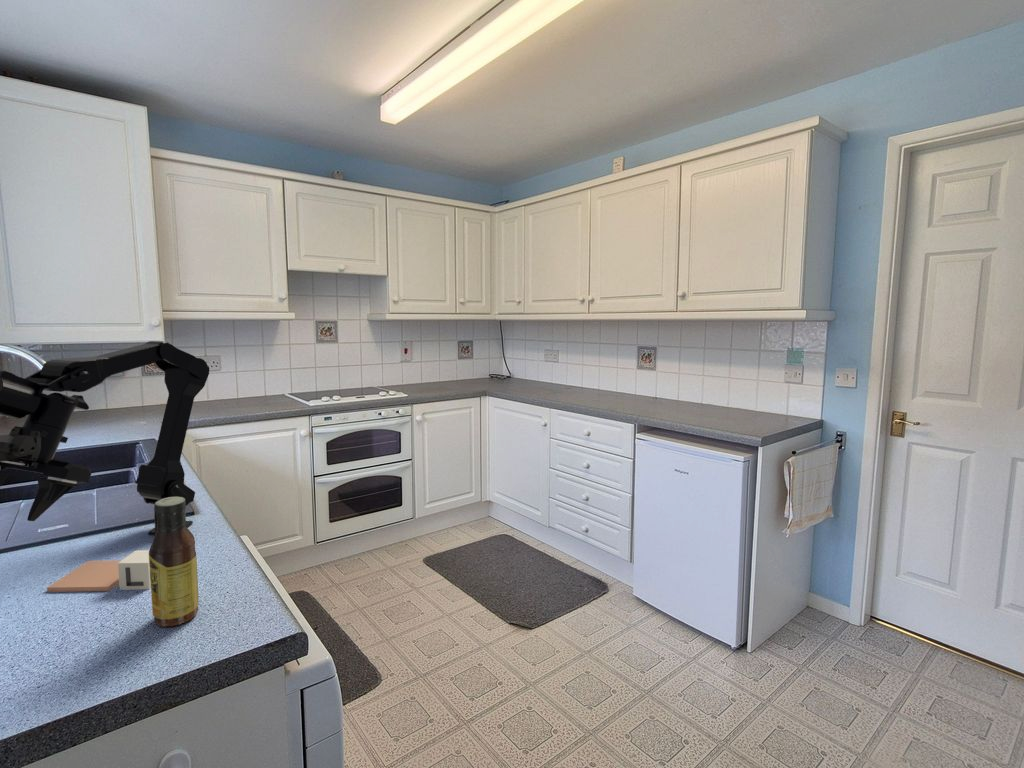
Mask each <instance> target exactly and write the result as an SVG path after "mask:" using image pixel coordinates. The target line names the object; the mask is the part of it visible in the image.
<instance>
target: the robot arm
mask: <svg viewBox="0 0 1024 768" xmlns="http://www.w3.org/2000/svg"><path fill="white" fill-rule="evenodd" d="M151 364H154V366H155V368H157V369H159V370H160V371H162V372H164V380H163V381H164V385H165V387H166V390H167V392H168V397H167V400H166V404H165V410H164V413H163V418H162V422H161V425H160V430H159V435H158V439H157V443H156V447H155V451H154V455H153V458H152V459H151V460H150V461H149V462H148V463H147V464H140V466H139V467H138V476H137V478H136V480H135V482H134V484H136V491H137V493H138V494H139V495H140V497H142V498H143V501H144V502H145V504H151V505H154V506H153V509H154V510H153V511H154V527H152V528H151V529H150V530H149V531H148V532H147V534H148V535H155V533H156V530H157V528H156V527H157V516H156V513H155V502H157V501H159V500H161V499H164V498H168V497H183V498H185V501H186V506H189V504H191V503H193V502H194V500H195V495H196V491H195V490H193V489H191V487H189V486H187V485H186V484H185V474H186V473H185V470H184V467H183V465H182V462H181V457H182V453H183V449H184V445H185V440H186V437H187V436H186V435H187V431H188V426H189V422H190V418H191V413H192V410H193V406H194V405H193V404H194V401H195V398H196V396H197V395H198V394H199V393H200V392H201V391H202V390H203V389H204V387H205V386H206V383H207V381H208V377H209V375H210V366H209V365H208V364H207V361H205V359H202V358H201V357H196V356H195V355H193V354H191V353H188V352H186V351H184V350H181V349H180V348H177V347H176V346H174V344H173V345H172V344H171V343H170V342H167V341H160V340H159V341H158V340H151V341H147V342H145V343H142V344H139V345H134V346H130V347H128V348H123V349H118V350H115V351H111V352H107V353H104V354H99V355H95V356H86V357H85V356H84V357H65V358H54V359H50V360H48V361H46V362H44V364H43V366H42V368H41V369H40V370H37V371H36V372H33V373H31V374H30V375H28V376H26V377H24V378H23V377H21V376H18V375H16V374H14V373H12V372H10V371H7V370H0V416H4V417H8V418H12V419H16V420H18V419H22V418H25V419H24V422H23V423H22V426H16V425H15V426H14V427H13V428H11V430H10V432H9V434H0V487H1V486H2V485H3V484H4V482H5V481H6V479H7V478H8V476H9V475H10V473H9V472H4V471H6V470H8V469H12V470H13V469H14V470H20V471H27V472H33V473H38V474H43V476H44V477H47V478H43V477H39V476H38V477H36V479H37V484H38V491H37V493H36V495H35V497H34V500H33V502H32V505H31V507H30V509H29V512H28V515H27V519H26V520H27V521H28V522H35V521H37V519H38V518H40V517H41V516H42V515H43V513H45V512H46V511H47V510H49V508H50V507H52V505H54V504H55V503H56V502H57V501H59V500H60V499H61V498H62V497H63V496H64V495H66V494H67V493H68V492H70V491H71V490H72V489H73V488H79V486H80V484H79V483H82V484H88V483H89V481H90V479H91V476H92V472H91V467H89V466H85V465H81V464H77V463H74V462H73V463H72V462H66V461H60V460H59V459H55V455H56V453H57V450H58V448H59V445H60V443H64V444H67V441H68V439H69V437H67V436H64V435H65V432H66V430H67V427H68V426H69V423H70V421H71V418H72V416H73V414H74V412H75V409H76V410H84V411H88V410H89V409H90V406H89V405H88V403H87V402H86V401H85V399H84V396H83V395H81V394H79V395H77V394H72V395H70V396H69V395H67V394H63V393H61V392H70V393H71V392H73V393H83V392H86V391H88V390H90V389H93V388H94V387H96V386H99V385H100V384H103V382H104V381H106V379H107V378H110V377H111V376H114V375H118V374H120V373H124V372H127V371H131V370H133V369H138V368H141V367H144V366H147V365H151ZM43 391H47V392H52V393H49V394H47V393H43ZM34 464H37V465H34ZM2 471H3V472H2ZM186 518H187V517H186V513H185V521H186V525H185V526H186V527H187V528H189V527H190V526H191V525H192V524H193V523H194V521H193V520H186Z"/></svg>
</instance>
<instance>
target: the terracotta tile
mask: <svg viewBox="0 0 1024 768" xmlns="http://www.w3.org/2000/svg"><path fill="white" fill-rule="evenodd" d="M122 560H123V559H122ZM122 560H88V561H85V562H84V563H83V564H81V565H80V566H78V567H76V568H75V569H73V570H72V571H70V572H69V573H67V574H65V575H64V576H62V577H61V578H60V579H58V580H56V581H55V582H53V583H52V584H50V585H48V586H47V587H46V592H47V593H57V592H60V593H61V592H65V593H67V592H68V593H69V592H109V591H111V590H112V589H113V588H114V587H116V586H117V585H119V572H118V563H119V562H120V561H122Z"/></svg>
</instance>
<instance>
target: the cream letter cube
mask: <svg viewBox="0 0 1024 768" xmlns="http://www.w3.org/2000/svg"><path fill="white" fill-rule="evenodd" d="M149 550H150V549H148V550H140V549H139V550H134V551H133V552H131V553H130V554H129V555H127V556H126V557H125V558H123V559H122V561H120V560H119V561H120V562H119V563H118V572H119V583H118V586H119V590H120V591H121V590H125V591H126V590H151V581H150V565H149Z"/></svg>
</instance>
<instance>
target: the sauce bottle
mask: <svg viewBox="0 0 1024 768" xmlns="http://www.w3.org/2000/svg"><path fill="white" fill-rule="evenodd" d="M154 507H155V513H156V516H157V527H156V528H157V530H156V533H155V534H154V536H153V539H152V542H151V545H150V547H149V549H148V550H149V565H150V581H151V588H150V591H151V592H150V594H151V596H150V597H151V608H152V609H151V611H152V615H153V618H154V619H153V620H154V622H155V624H157V626H159V627H162V628H163V627H164V628H165V627H175V626H179V625H182V623H183V624H185V623H188V622H190V621H191V620H193V618H194V617H196V615H197V613H198V612H199V585H198V584H199V582H198V564H197V563H198V561H197V551H196V540H195V536H194V534H193V532H191V531H190V529H188V527H186V526H185V525H186V521H187V520H186V521H185V514H186V509H187V508H186V507H187V505H186V501H185V498H183V497H168V498H164V499H161V500H159V501H157V502H155V506H154ZM189 620H190V621H189Z"/></svg>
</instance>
